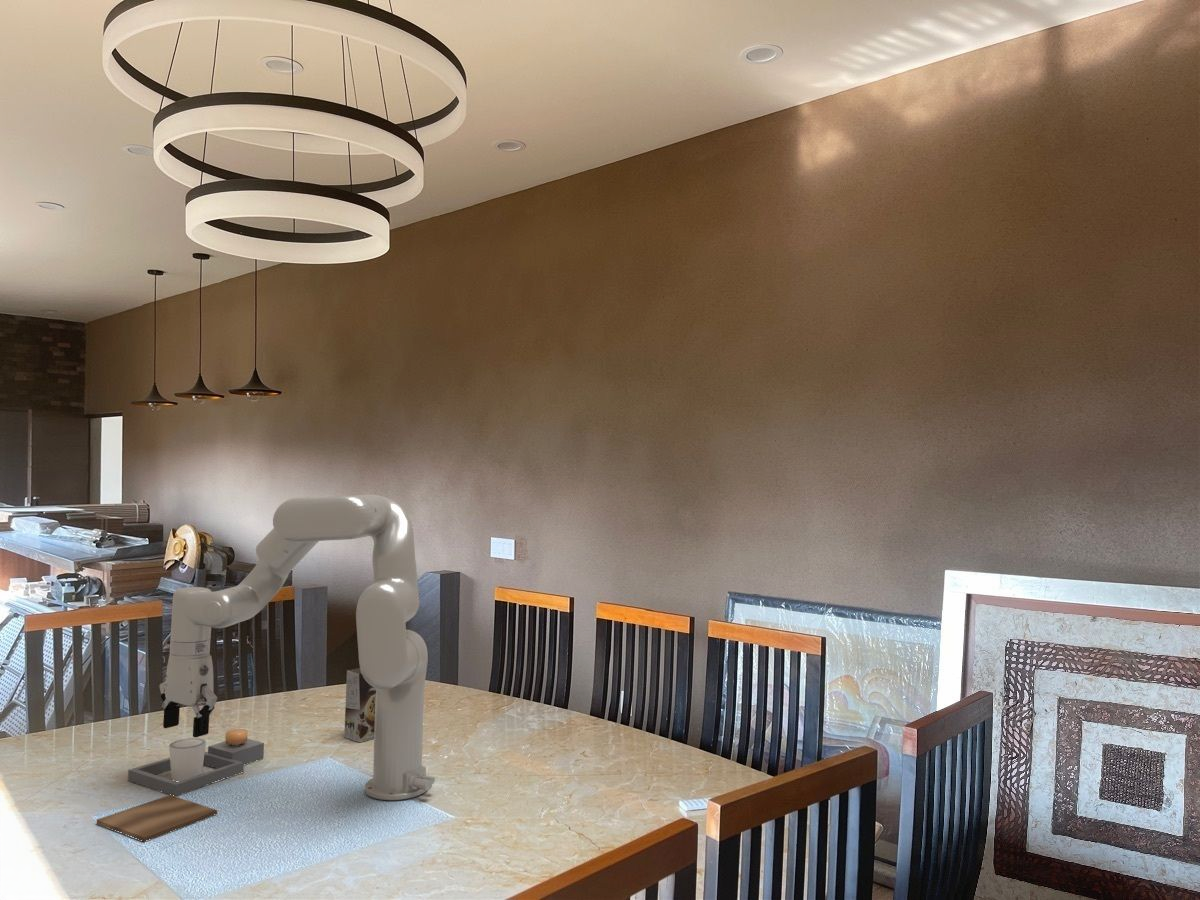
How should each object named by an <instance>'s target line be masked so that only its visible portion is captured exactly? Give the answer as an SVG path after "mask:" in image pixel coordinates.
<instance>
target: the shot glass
mask: <svg viewBox="0 0 1200 900" xmlns="http://www.w3.org/2000/svg"><path fill="white" fill-rule="evenodd" d="M206 743H207V741H206V740H205V739H203V738H198V737H193V738H183V739H179V740H175V741H173V742H171V743H170V744H169V747H168V748H169V758H170V764H171V770H170V775H171V776H170V777H171V778H172V779H171V780H174V781H182V780H185V779H188V778H191V777H194V776H197V775H200V774H203V768H204V764H203V762H204V754H205V752H206V745H207V744H206Z"/></svg>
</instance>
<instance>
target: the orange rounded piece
mask: <svg viewBox="0 0 1200 900" xmlns="http://www.w3.org/2000/svg"><path fill="white" fill-rule="evenodd" d="M247 739H248V730H247V729H245V728H235V729H230V730H227V731H226V732H225V739H224V741H225V743H226V744H231V745H232V746H233V747H237V746H240V744H242V743H245V742H247Z"/></svg>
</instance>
